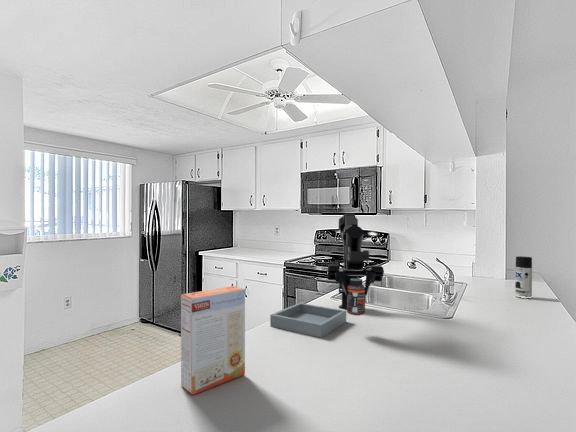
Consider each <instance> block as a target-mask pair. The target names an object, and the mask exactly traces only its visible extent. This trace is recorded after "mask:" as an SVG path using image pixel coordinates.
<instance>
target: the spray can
mask: <svg viewBox="0 0 576 432" xmlns="http://www.w3.org/2000/svg"><path fill="white" fill-rule="evenodd" d="M514 287H515V290H514V291H515V292H514V293H515V294H516V295H519V296H525V297H531V296H533V294H532V293H533V258H532V256H515V286H514ZM515 294H514V295H515Z"/></svg>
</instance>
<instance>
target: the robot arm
mask: <svg viewBox="0 0 576 432" xmlns="http://www.w3.org/2000/svg"><path fill="white" fill-rule="evenodd" d="M338 230H339V235H340V237H341V241H342V242H343V267H340V264H329V265H327V280H328V281H335V283H338V294H339V295H340V294H341V304H340V305H338V308H340V309H345V310H347V287H348V286H349V285H350V279H352V278H357V279H359V278H358V277H365V284H364V287H365V296H367V295H368V292H369V288H370V286H371V284H375V282H382V281H383V278H384V274H385V271H384V269H385V268H384V267H383V266H382V265H371V266H370V269H364V268H365V262H369V260H370V252H369V250H362V246H363V241H364V239H366V234H364V233H365V232H364V230H363V228H361V227H360V226H359V221H358V218H357V217H356V214H354V213H344V214H343V215H342V217H340V218H339V219H338ZM364 261H365V262H364Z"/></svg>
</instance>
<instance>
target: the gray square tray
mask: <svg viewBox="0 0 576 432" xmlns="http://www.w3.org/2000/svg"><path fill="white" fill-rule="evenodd" d="M269 319H270V320H269V321H270V323H269V324H270V327H272V328H277V329H280V330H281V329H282V330H286V331H291V332H295V333H298V334H299V333H300V334H302V335H303V334H304V335H307V336H312V337H314V338H315V337H316V338H323V337H325V336H326V335H328V334H330V333H331V332H332V331H334V330H336V329H337V328H339V327H340V326H342V325H343V324H345V323H346V322H347V310H343V309H337V308H333V307H327V306H326V307H325V306H322V305H321V306H319V305H314V304H309V303H302V302H298V303H296V304H294V305H291V306H289V307H287V308H284V309H281V310H279V311H276V312H274V313H273V312H272V313H271V314H270V317H269Z"/></svg>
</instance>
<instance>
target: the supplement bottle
mask: <svg viewBox="0 0 576 432" xmlns="http://www.w3.org/2000/svg"><path fill="white" fill-rule="evenodd" d="M346 314H349V315H352V316H363V315H365V314H366V295H365V285H364V284H363V279H362V278H358V279H357V278H352V279H350V285H349V286H348V287H347V309H346Z"/></svg>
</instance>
